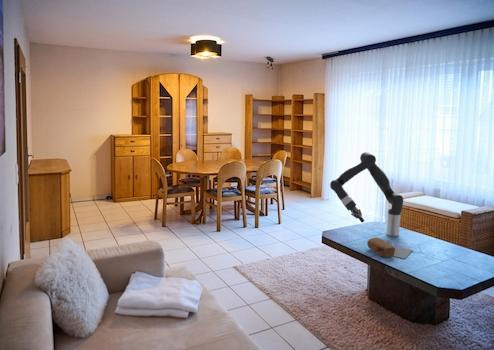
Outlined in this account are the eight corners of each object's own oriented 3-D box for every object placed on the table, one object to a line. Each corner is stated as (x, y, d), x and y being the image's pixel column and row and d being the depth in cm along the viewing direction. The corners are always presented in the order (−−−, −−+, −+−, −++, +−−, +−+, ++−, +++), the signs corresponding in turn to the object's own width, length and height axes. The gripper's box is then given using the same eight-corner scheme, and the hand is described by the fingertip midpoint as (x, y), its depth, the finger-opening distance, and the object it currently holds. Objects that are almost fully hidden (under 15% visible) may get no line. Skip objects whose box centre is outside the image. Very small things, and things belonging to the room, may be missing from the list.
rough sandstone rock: (380, 236, 291) (396, 246, 272) (379, 246, 292) (395, 257, 273) (366, 237, 288) (382, 248, 269) (365, 247, 290) (381, 258, 271)
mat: (384, 244, 299) (384, 243, 299) (412, 251, 287) (412, 250, 287) (375, 252, 283) (375, 251, 283) (404, 259, 271) (404, 258, 271)
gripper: (348, 201, 294) (363, 220, 289) (355, 198, 305) (370, 217, 300) (341, 207, 298) (356, 226, 293) (348, 204, 309) (362, 222, 304)
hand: (363, 221), depth 297 cm, fingers closed
